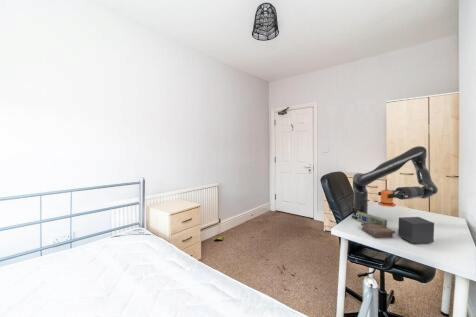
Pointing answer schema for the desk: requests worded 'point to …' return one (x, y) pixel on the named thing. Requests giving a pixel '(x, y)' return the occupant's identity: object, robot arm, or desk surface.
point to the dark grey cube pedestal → (416, 230)
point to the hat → (386, 199)
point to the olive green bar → (370, 218)
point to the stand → (377, 230)
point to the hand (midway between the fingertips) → (383, 194)
